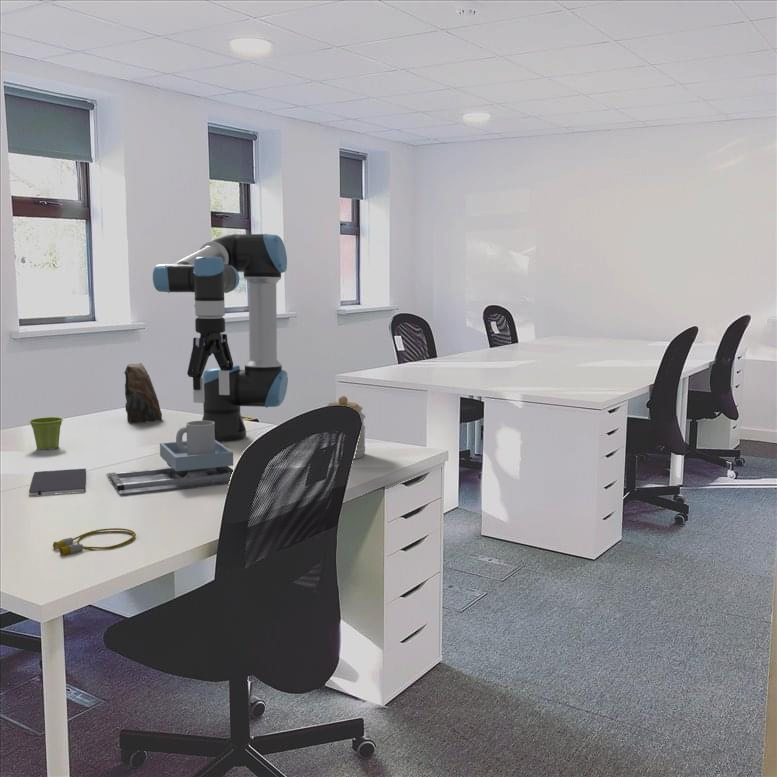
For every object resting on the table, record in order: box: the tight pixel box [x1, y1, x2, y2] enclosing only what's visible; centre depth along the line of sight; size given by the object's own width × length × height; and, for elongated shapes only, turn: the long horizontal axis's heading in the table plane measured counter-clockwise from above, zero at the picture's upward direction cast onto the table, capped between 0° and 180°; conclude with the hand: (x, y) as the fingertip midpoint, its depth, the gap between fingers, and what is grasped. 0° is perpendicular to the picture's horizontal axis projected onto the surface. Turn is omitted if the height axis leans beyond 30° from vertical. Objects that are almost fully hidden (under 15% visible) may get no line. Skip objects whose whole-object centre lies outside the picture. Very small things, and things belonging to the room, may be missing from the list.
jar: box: [326, 395, 366, 460], centre depth 244 cm, size 13×13×18 cm
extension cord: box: [52, 527, 136, 557], centre depth 166 cm, size 12×16×2 cm
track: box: [106, 466, 234, 497], centre depth 216 cm, size 30×22×2 cm
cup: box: [175, 420, 215, 456], centre depth 218 cm, size 7×10×9 cm
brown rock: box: [123, 362, 163, 424], centre depth 300 cm, size 13×13×20 cm
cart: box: [159, 440, 234, 477], centre depth 219 cm, size 15×19×6 cm
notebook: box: [28, 468, 87, 496], centre depth 211 cm, size 13×2×21 cm
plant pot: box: [28, 416, 64, 451], centre depth 252 cm, size 9×9×9 cm
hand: (212, 398), depth 219 cm, fingers open, 13 cm apart
